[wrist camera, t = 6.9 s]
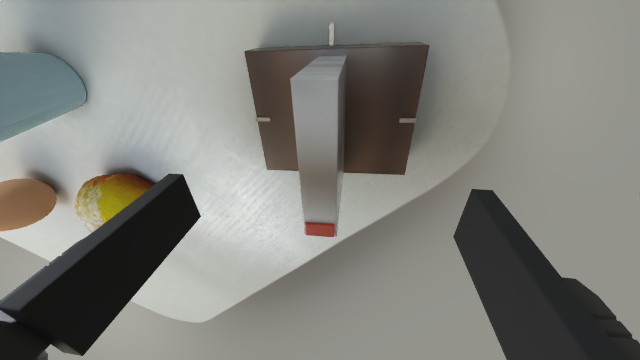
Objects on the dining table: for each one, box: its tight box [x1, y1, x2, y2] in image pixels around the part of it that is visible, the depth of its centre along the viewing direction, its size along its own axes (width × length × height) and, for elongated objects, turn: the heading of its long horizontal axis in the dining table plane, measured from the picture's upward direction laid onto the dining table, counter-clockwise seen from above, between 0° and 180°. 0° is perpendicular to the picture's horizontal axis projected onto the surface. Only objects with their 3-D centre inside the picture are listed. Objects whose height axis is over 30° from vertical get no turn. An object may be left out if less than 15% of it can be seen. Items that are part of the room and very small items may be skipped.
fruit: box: [75, 174, 154, 232], centre depth 32 cm, size 11×10×8 cm
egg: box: [0, 179, 57, 231], centre depth 32 cm, size 6×6×8 cm
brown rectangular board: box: [245, 23, 429, 175], centre depth 22 cm, size 14×14×3 cm
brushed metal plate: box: [290, 56, 347, 237], centre depth 17 cm, size 10×2×9 cm, turn 2°
